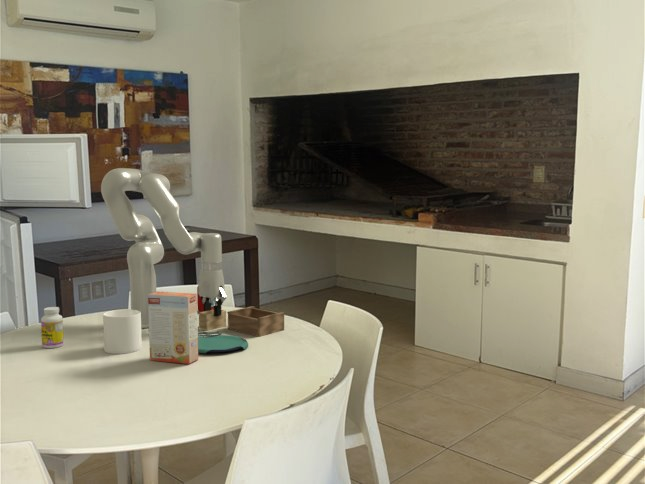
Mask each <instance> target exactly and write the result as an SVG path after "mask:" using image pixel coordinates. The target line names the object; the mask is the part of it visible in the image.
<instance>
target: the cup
mask: <svg viewBox="0 0 645 484" xmlns="http://www.w3.org/2000/svg"><path fill="white" fill-rule="evenodd" d="M102 317H103V318H102V321H103V325H102V326H103V346H104V347H103V349H104V352H105V353H107V354H111V355H126V354H131V353H135V352H138V351H141V349H142V347H143V344H142V341H143V340H142V337H143V336H142V328H141V312H140V311H138V310H131V308H130V309H129V308H128V309H126V308H125V309H115V310H110V311H107V312H106V311H105V312H104V313H103V315H102Z"/></svg>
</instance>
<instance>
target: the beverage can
mask: <svg viewBox="0 0 645 484" xmlns="http://www.w3.org/2000/svg"><path fill="white" fill-rule="evenodd" d="M198 287H199V284H198V285H197V288H196V289H197V290H196V291H197V292H196V294H197V312H199V311H200V312H204V304H203V303H202V299H201V297H200V296H199V294H198ZM209 303H211V310H214V306H215V303H214V299H213V298H210V302H209ZM200 312H199V313H200Z"/></svg>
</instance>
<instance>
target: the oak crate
mask: <svg viewBox="0 0 645 484" xmlns="http://www.w3.org/2000/svg"><path fill="white" fill-rule="evenodd" d="M226 327H227V310H225V309H221V315H220V316H216V317H215V316H214V310H210V311H205V312H198V330H203V331H206V332H210V331H212V330H213V331H214V330H216V329H221V328H226Z"/></svg>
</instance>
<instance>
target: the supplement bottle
mask: <svg viewBox="0 0 645 484" xmlns="http://www.w3.org/2000/svg"><path fill="white" fill-rule="evenodd" d="M43 313H44V315H43V316H42V317H41V319H40V327H41V329H40V330H41V347H43V349H57V348H60V347H62V346H63V345H64V324H63V323H64V321H63V320H64V318H63V316H62V315H61V314H59V313H60V307H59V306H50V307H49V306H48V307H45V308H43Z"/></svg>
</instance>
